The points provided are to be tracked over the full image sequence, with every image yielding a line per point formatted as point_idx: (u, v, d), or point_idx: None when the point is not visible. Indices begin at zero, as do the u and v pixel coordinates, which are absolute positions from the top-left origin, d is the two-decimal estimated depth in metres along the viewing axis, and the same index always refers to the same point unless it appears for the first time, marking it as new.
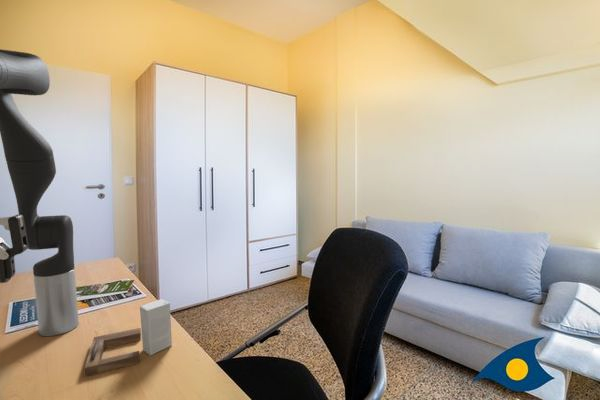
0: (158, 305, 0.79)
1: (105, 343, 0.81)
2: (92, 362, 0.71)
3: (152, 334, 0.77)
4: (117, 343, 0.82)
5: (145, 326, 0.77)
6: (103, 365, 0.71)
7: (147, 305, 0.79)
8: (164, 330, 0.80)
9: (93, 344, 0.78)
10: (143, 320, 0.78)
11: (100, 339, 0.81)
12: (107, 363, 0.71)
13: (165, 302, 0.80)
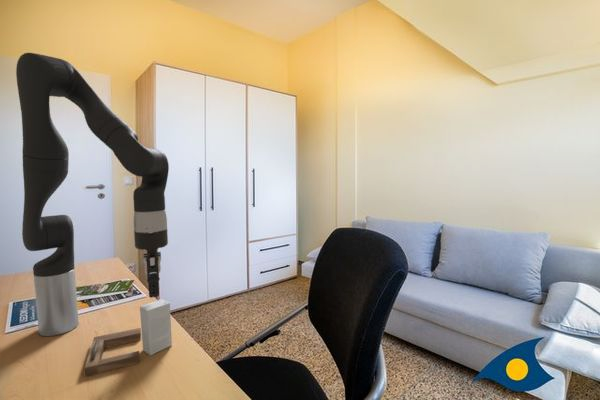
0: (158, 305, 0.79)
1: (105, 343, 0.81)
2: (92, 362, 0.71)
3: (152, 334, 0.77)
4: (117, 343, 0.82)
5: (145, 326, 0.77)
6: (103, 365, 0.71)
7: (147, 305, 0.79)
8: (164, 330, 0.80)
9: (93, 344, 0.78)
10: (143, 320, 0.78)
11: (100, 339, 0.81)
12: (107, 363, 0.71)
13: (165, 302, 0.80)
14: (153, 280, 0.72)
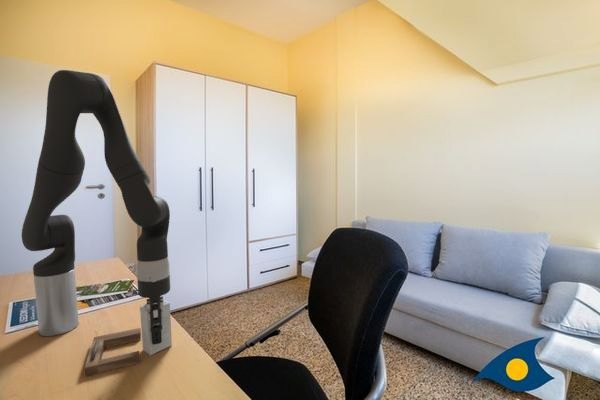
0: None
1: (105, 343, 0.81)
2: (92, 362, 0.71)
3: None
4: (117, 343, 0.82)
5: (145, 326, 0.77)
6: (103, 365, 0.71)
7: None
8: (164, 330, 0.80)
9: (93, 344, 0.78)
10: (143, 320, 0.78)
11: (100, 339, 0.81)
12: (107, 363, 0.71)
13: (165, 302, 0.80)
14: (156, 329, 0.75)
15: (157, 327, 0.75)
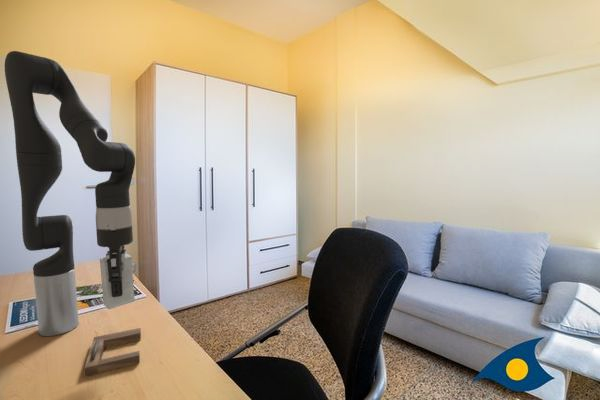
0: None
1: (105, 343, 0.81)
2: (92, 362, 0.71)
3: (110, 287, 0.73)
4: (117, 343, 0.82)
5: (104, 278, 0.73)
6: (103, 365, 0.71)
7: None
8: (125, 284, 0.76)
9: (93, 344, 0.78)
10: (102, 273, 0.74)
11: (100, 339, 0.81)
12: (107, 363, 0.71)
13: (127, 255, 0.77)
14: (115, 280, 0.71)
15: (116, 277, 0.71)
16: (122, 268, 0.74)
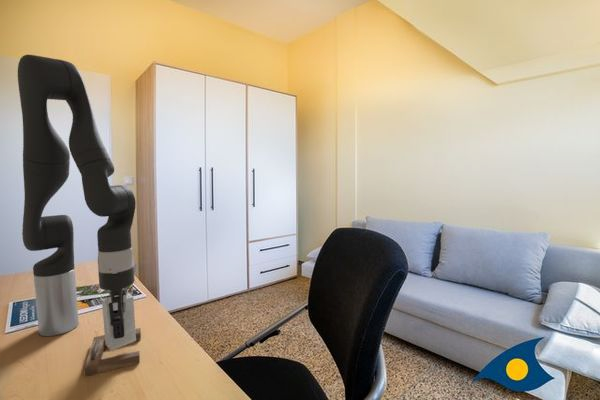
0: None
1: None
2: (92, 362, 0.71)
3: (112, 328, 0.74)
4: None
5: (106, 320, 0.74)
6: (103, 365, 0.71)
7: None
8: (127, 325, 0.77)
9: (93, 344, 0.78)
10: (104, 314, 0.75)
11: (100, 339, 0.81)
12: (107, 363, 0.71)
13: (129, 296, 0.78)
14: (117, 323, 0.72)
15: (118, 320, 0.72)
16: (124, 310, 0.75)
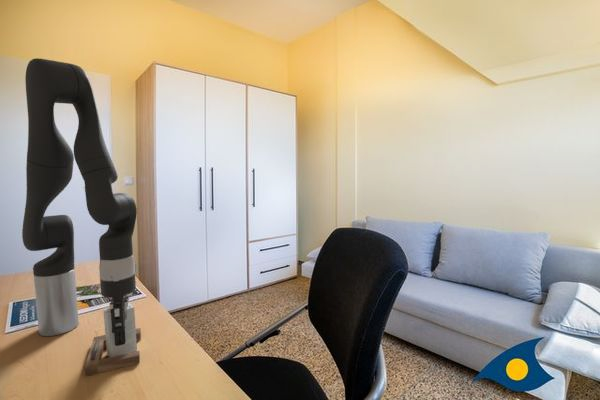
0: None
1: (105, 343, 0.81)
2: (92, 362, 0.71)
3: (113, 338, 0.75)
4: None
5: (107, 330, 0.75)
6: (103, 365, 0.71)
7: None
8: (127, 335, 0.77)
9: (93, 344, 0.78)
10: (105, 324, 0.76)
11: (100, 339, 0.81)
12: (107, 363, 0.71)
13: (130, 306, 0.78)
14: (118, 330, 0.72)
15: (119, 328, 0.72)
16: (125, 316, 0.75)
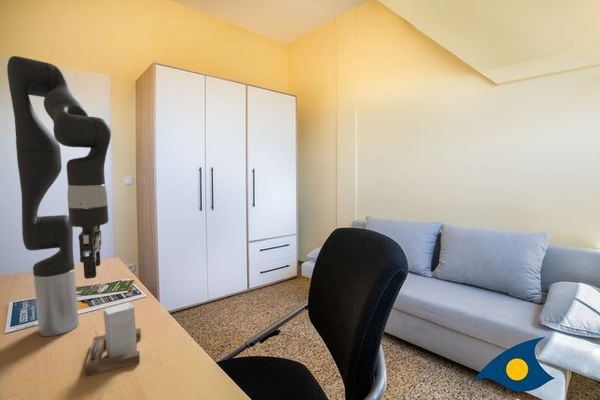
0: (121, 309, 0.76)
1: (105, 343, 0.81)
2: (92, 362, 0.71)
3: (113, 338, 0.75)
4: None
5: (107, 330, 0.75)
6: (103, 365, 0.71)
7: (110, 309, 0.77)
8: (127, 335, 0.77)
9: (93, 344, 0.78)
10: (105, 324, 0.76)
11: (100, 339, 0.81)
12: (107, 363, 0.71)
13: (130, 306, 0.78)
14: (87, 259, 0.66)
15: (88, 257, 0.66)
16: (96, 248, 0.69)
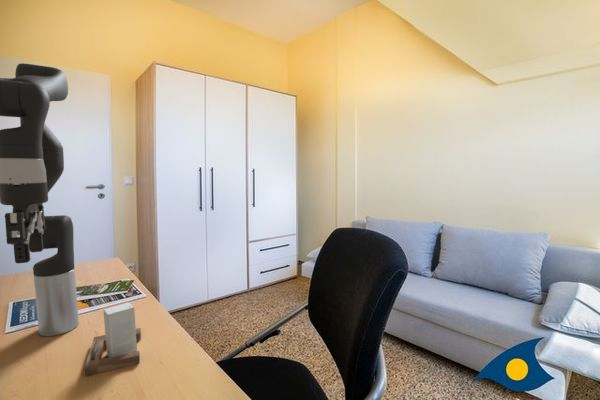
0: (121, 309, 0.76)
1: (105, 343, 0.81)
2: (92, 362, 0.71)
3: (113, 339, 0.75)
4: None
5: (107, 330, 0.75)
6: (103, 365, 0.71)
7: (110, 309, 0.77)
8: (127, 335, 0.77)
9: (93, 344, 0.78)
10: (105, 324, 0.76)
11: (100, 339, 0.81)
12: (107, 363, 0.71)
13: (130, 306, 0.78)
14: (15, 241, 0.59)
15: (17, 238, 0.59)
16: (29, 229, 0.62)
